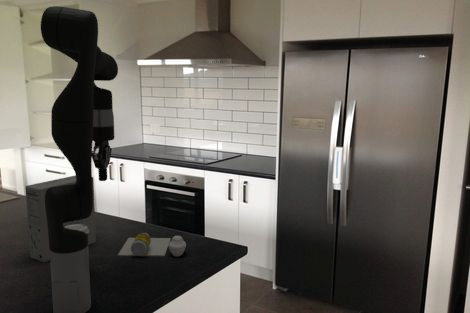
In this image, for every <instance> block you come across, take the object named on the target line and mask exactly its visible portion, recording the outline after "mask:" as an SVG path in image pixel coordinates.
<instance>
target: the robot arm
mask: <svg viewBox="0 0 470 313" xmlns="http://www.w3.org/2000/svg"><path fill="white" fill-rule="evenodd" d="M40 19H41V20H40V35H41V37H42V40H43V42H44V43H45V44H46V46H47V47H49V48H51V49H52V50H55V51H58V52H60V53H62V54H63V55H65V56H67V57H68V58H70V59H72V60H73V61H75V62H76V63H77V65H76V67H75V72H74V73H73V74H72V77H71V79H70V80H69V81H68V83H67V84H66V86H65V87H64V88H63V89H62V91H61V92H60V93H59V95H58V96H57V98H56V99H55V100H54V102H53V105H52V107H51V119H50V120H51V123H50V124H51V131H50V132H51V137H52V139H53V142H54V143H55V145H56V146H57V148H58V149H59V151H60V152H61V153H62V154H63V155H64V157H65V158H66V160H68V162H69V164H70V165H71V167H72V169H73V171H74V174H75V175H76V183H75V184H71V185H63V186H55V187H50V188H48V189H47V191H46V193H45V209H46V217H47V225H48V237H49V250H50V260H49V265H50V277H51V278H50V280H51V293H52V297H51V298H52V310H53V313H87V312H88V311H89V310H90V309H91V307H92V300H91V299H92V297H91V281H90V280H91V279H90V276H91V275H90V260H89V259H90V257H89V245H88V236H87V234H86V233H84V232H82V231H79V230H73V229H68V228H65V227H63V223H65V222H70V221H76V220H81V219H85V218H88V217H89V216H90V215H91V213H92V209H93V188H92V177H93V175H92V173H93V172H92V171H93V170H92V169H93V168H92V167H93V166H92V163H94V164H93V165H94V167H95V169H97V171H98V181H99V182H106V181H107V180H108V168H109V165H110V162H111V156H112V147H111V146H110V142H109V141H113V140H115V119H114V118H115V117H114V116H115V115H114V110H113V108H114V107H113V93H112V91H111V90H110V89H106V88H103V87H99V86H97V84H96V83H95V81H100V82H101V81H102V82H104V81H105V82H109V81H113V80H114V79H116V77H118V74H119V65H118V63H117V61H116V59H115V58H114V56H112V55H110V54H108V53H106V52H105V51H102V50H101V48H100V46H99V45H98V42H99V24H98V21H99V20H98V19H97V15H96V14H95V13H94V12H93V11H91V10H85V9H78V8H74V7H73V8H72V7H66V6H57V5H56V6H55V5H53V6H49V7H47V8H46V9H45V10H44V11H43V13H42V15H41V18H40ZM93 142H94V146H93Z"/></svg>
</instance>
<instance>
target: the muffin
mask: <svg viewBox="0 0 470 313" xmlns="http://www.w3.org/2000/svg"><path fill="white" fill-rule="evenodd" d="M186 246H187V243H186V241H184V239H183V237H182V236H181V235H174V236H172V238H171V240H170V243H169V245H168V248H169V251H170V252H171V254H172V256H173V257H176V258H177V257H181V256H182V255H183V254H184V252H185V249H186Z"/></svg>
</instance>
